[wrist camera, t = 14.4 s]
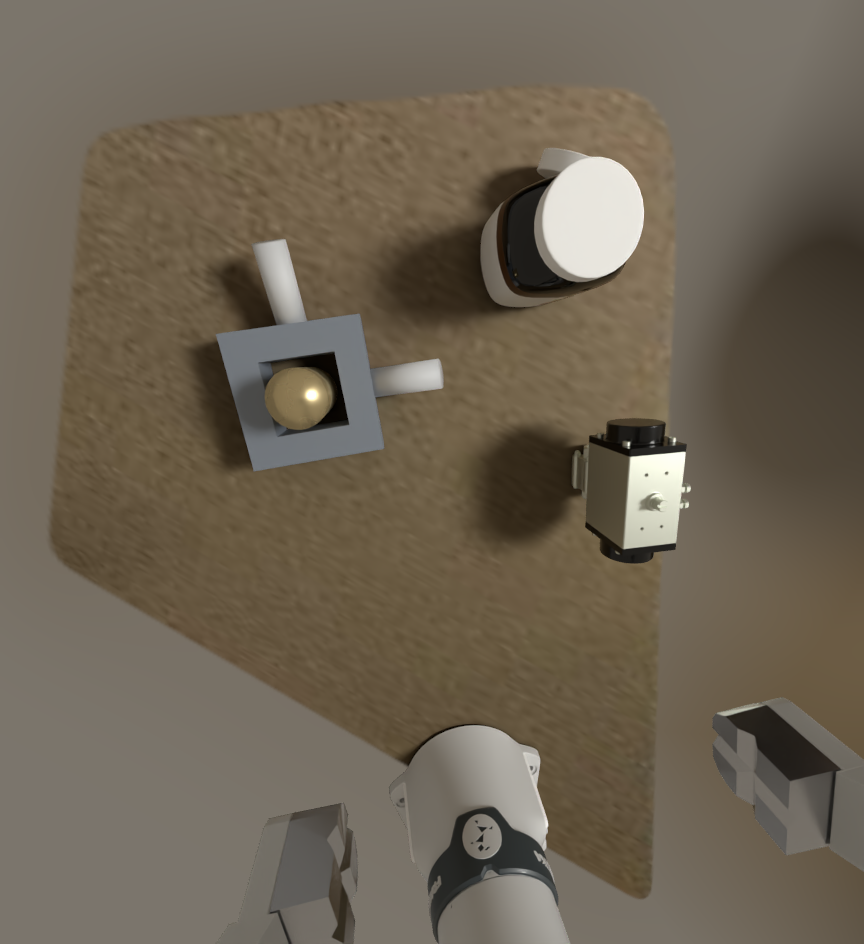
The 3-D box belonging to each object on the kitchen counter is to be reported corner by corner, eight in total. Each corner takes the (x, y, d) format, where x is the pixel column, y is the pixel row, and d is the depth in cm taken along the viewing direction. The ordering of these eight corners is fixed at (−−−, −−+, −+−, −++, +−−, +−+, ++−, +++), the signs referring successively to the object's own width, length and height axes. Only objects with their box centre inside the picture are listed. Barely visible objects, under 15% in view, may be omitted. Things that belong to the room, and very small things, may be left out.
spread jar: (479, 316, 38) (523, 297, 26) (461, 175, 34) (502, 84, 23) (602, 296, 39) (695, 269, 27) (596, 156, 35) (698, 61, 24)
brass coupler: (341, 412, 38) (333, 424, 30) (293, 419, 38) (273, 434, 30) (331, 363, 37) (320, 363, 29) (282, 370, 36) (257, 372, 29)
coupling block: (445, 429, 40) (456, 440, 34) (266, 460, 38) (248, 476, 33) (417, 234, 35) (425, 210, 30) (212, 260, 34) (181, 240, 28)
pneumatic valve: (562, 522, 44) (629, 579, 32) (566, 413, 41) (640, 432, 29) (611, 517, 45) (693, 570, 33) (618, 409, 42) (711, 426, 30)
